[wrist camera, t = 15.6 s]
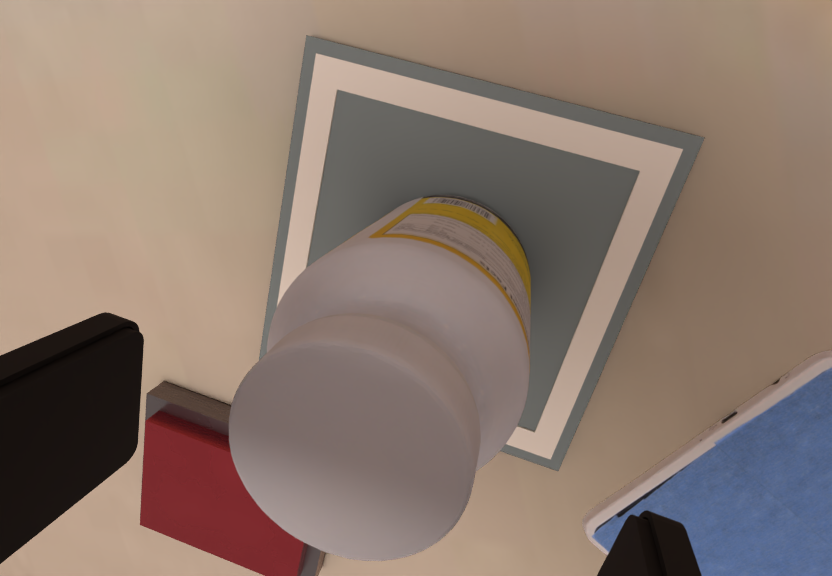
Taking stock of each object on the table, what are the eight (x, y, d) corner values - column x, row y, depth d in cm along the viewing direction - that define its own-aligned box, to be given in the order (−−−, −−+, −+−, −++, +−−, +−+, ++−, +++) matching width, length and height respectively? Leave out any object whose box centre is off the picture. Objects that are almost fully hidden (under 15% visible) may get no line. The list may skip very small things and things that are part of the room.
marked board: (701, 137, 17) (705, 137, 16) (557, 465, 22) (558, 472, 21) (311, 36, 19) (305, 35, 18) (262, 362, 24) (257, 367, 23)
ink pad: (350, 449, 24) (333, 478, 22) (321, 567, 27) (305, 602, 25) (164, 381, 25) (132, 403, 23) (155, 501, 28) (127, 529, 26)
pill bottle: (373, 345, 22) (211, 574, 11) (361, 192, 20) (146, 285, 9) (530, 354, 20) (522, 627, 9) (534, 189, 18) (530, 296, 7)
